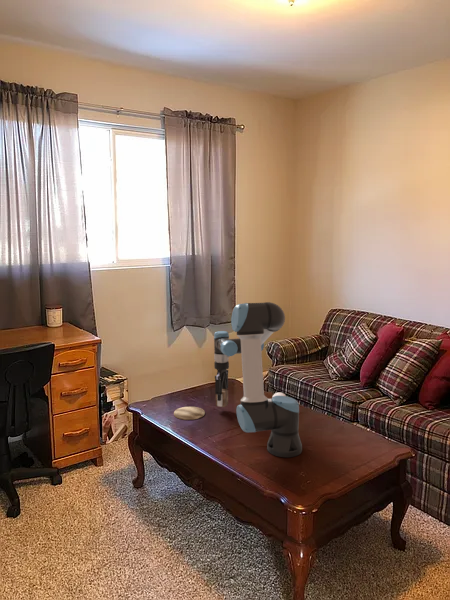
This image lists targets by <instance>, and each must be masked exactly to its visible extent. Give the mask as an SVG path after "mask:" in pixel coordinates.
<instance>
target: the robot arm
mask: <svg viewBox="0 0 450 600" xmlns="http://www.w3.org/2000/svg"><path fill="white" fill-rule="evenodd" d="M231 312H232V313H231V321H230V323H231V324H230V325H231V329H232V330H233V332H235V333H236V337H238V338H230V335H229V332H228V331H226V330H218V331H215V332H214V333H213V334H214V337H213V341H214V342H213V347H214V349H213V351H214V353H213V354H214V356H213V359H214V360H213V361H214V363H213V364H214V366H213V367H214V370H216V371H217V372H216V375H214V382H215V384H214V386H215V388H214V389H215V390H214V391H215V393H214V394H215V395H216V394H217V406H216V407H219V406H220V408H223V407H222V406H223V394H222V389H229V367H230V362H229V359H230V357H233V356H235V355H239V354H241V366H242V367H241V369H242V371H241V372H242V386H243V387H242V389H243V396H242V397H241V398H240V404H238V405H237V406H236V411H235V412H236V417H237V418H236V419H237V423H238V425H239V426H240V428H241V430H242V431H243V432H244V433H256V432H264V431H271V432H270V434H269V437H268V440H267V443H266V446H267V447H266V450H267V452H268V453H269V454H270V455H272V456H275V457H281V458H294V457H297V456H299V455H301V454H302V452H303V444H302V441H301V438H300V435H299V426H300V425H299V424H300V423H299V422H300V405H299V402H298V400H296V399H295V398H293V397H290V396H287V395H286V396H274V397H273V396H272V397H271V399H272V401H271V402H268V399H269V398H268V397H267V396H266V395H265V391H264V389H265V388H264V387H265V386H264V372H263V371H264V370H263V353H262V352H263V350H264V348H265V342H266V341H267V340H268V339H269V338H270V337H271V336H272V334H274V333H275V332H278V331H279V330H280V329H281V328H282V327H283V326H284V324H285V321H286V315H285V312H284V310H283V309H282V308H281V306H279V305H278V304H276V303H274V302H270V301H267V302H266V301H265V302H244V303H238V304H236V305H235V306H234V308H233V310H232V311H231Z"/></svg>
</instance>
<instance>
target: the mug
mask: <svg viewBox="0 0 450 600" xmlns="http://www.w3.org/2000/svg"><path fill="white" fill-rule="evenodd" d="M274 396H287V395H286V394H285V393H284V392H275V393H274V394H273V395H272V397H274ZM271 401H272V398H268V402H271Z"/></svg>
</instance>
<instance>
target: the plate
mask: <svg viewBox="0 0 450 600" xmlns="http://www.w3.org/2000/svg"><path fill="white" fill-rule="evenodd" d="M205 414H206V412H205V410H204V409H203V408H201V407H197V406H183V407H179V408H176V409H175V410H174V412H173V416H174V417H175V418H177V420H178V419H179V420H185V421H193V420H198V419H202V418H203V417H204V416H205Z"/></svg>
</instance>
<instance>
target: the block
mask: <svg viewBox="0 0 450 600" xmlns="http://www.w3.org/2000/svg"><path fill="white" fill-rule="evenodd" d="M222 394H223V406H222V407H220V406H217V394H215V407H220V408H225V407H227V406H228V405H229V388H227V389H222Z"/></svg>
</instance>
